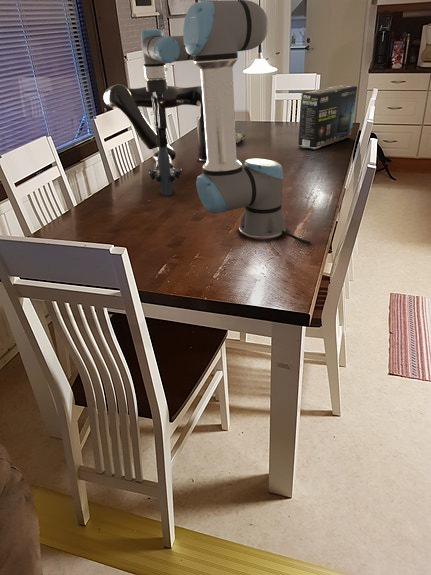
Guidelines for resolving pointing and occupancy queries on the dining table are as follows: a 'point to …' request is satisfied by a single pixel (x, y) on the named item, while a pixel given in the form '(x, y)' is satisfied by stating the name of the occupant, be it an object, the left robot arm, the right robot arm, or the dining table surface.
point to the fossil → (239, 136)
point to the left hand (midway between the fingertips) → (165, 179)
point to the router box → (326, 115)
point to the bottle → (164, 172)
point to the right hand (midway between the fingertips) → (162, 145)
